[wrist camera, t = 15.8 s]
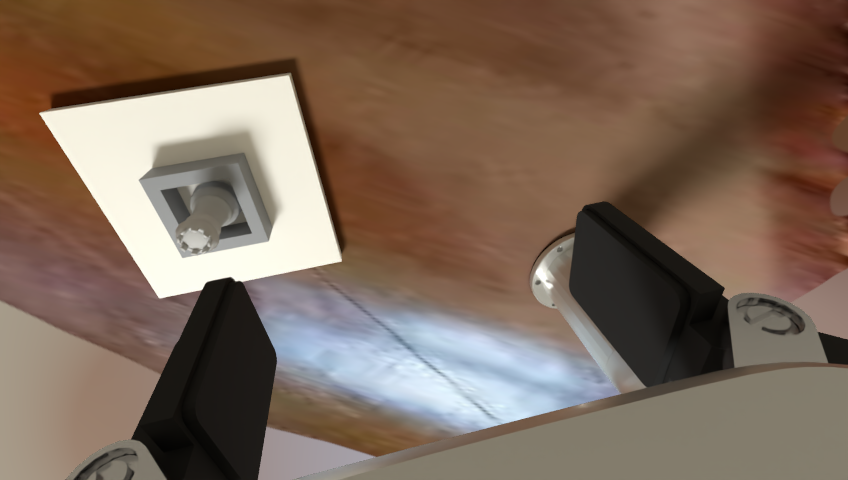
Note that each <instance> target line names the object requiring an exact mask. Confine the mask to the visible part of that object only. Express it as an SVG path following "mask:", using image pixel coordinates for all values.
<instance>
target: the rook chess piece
mask: <svg viewBox="0 0 848 480" xmlns="http://www.w3.org/2000/svg"><path fill="white" fill-rule="evenodd" d="M190 208H191V210H192V215H191V216H189V217H187V219H186V220H185V221H183V222H182V223H180V224H179V225H178V227H177V228H176V230H175V232H176V239H177V243H179V244H180V245H181V247H180V249H181V250H182V251H183V252H185V251H186V250H189V251H191V255H195V256H198V254H199V253H203V254H206V253H207V252H210V251H212V250H213V249H215V248H216V247H217V245H218V244H219V235H220V233H221V227H223V226H227V225H229V224H230V223H232V222H234V221H235V220H236V219H237V217H238V216H239V214H240V213H241V211H242V208H241V206H240V204H239V201H238V199H237V196H236V194H235V192H234V189H233V187H232V186H230V185H228V184H226V183H224V182H219V181H210V182H205V183H202V184H200V185H199V186H197V187H196V189H195V191H194V192H193V195H192V196H191V198H190Z"/></svg>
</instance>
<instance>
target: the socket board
mask: <svg viewBox="0 0 848 480" xmlns="http://www.w3.org/2000/svg"><path fill="white" fill-rule="evenodd" d="M39 114H40V115H41V117H42V118H43V120H44V121H45V123H46V124H47V126H48V127H49V129H50V130H51V132H52V134H53V135H54V137H55V138H56V140H57V141H58V143H59V144H60V146H61V147H62V149H63V151H64V152H65V154H66V155H67V157H68V158H69V160H70V161H71V163H72V164H73V166H74V168H75V169H76V171H77V172H78V174H79V175H80V177H81V178H82V180H83V181H84V183H85V184H86V186H87V188H88V189H89V191H90V192H91V194H92V195H93V197H94V198H95V200H96V201H97V203H98V205H99V206H100V208H101V209H102V211H103V212H104V214H105V215H106V217H107V218H108V220H109V221H110V223H111V225H112V226H113V228H114V229H115V231H116V232H117V234H118V235H119V237H120V238H121V240H122V242H123V243H124V245H125V246H126V248H127V249H128V251H129V252H130V254H131V255H132V257H133V258H134V260H135V262H136V263H137V265H138V266H139V268H140V269H141V271H142V272H143V274H144V275H145V277H146V279H147V280H148V282H149V283H150V285H151V286H152V288H153V289H154V291H155V292H156V294H157V295H158V297H159V298H164V297H169V296H173V295H178V294H183V293H188V292H193V291H198V290H202V289H203V287H204V285H205V284H206V282H208V281H212V280H217V279H222V278H227V277H232V278H233V279H234V280H235V281H241V282H242V281H247V280H252V279H257V278H262V277H267V276H272V275H277V274H282V273H286V272H291V271H296V270H301V269H306V268H311V267H316V266H321V265H326V264H331V263H336V262H341V261H342V254H341V250H340V246H339V243H338V239H337V236H336V232H335V229H334V225H333V221H332V218H331V214H330V211H329V207H328V204H327V200H326V197H325V193H324V189H323V186H322V182H321V179H320V175H319V172H318V168H317V164H316V161H315V157H314V154H313V150H312V147H311V143H310V140H309V136H308V132H307V129H306V125H305V122H304V118H303V115H302V111H301V107H300V104H299V100H298V97H297V93H296V90H295V86H294V83H293V79H292V75H291V73H285V74H278V75H271V76H265V77H258V78H251V79H245V80H238V81H232V82H225V83H218V84H212V85H205V86H198V87H192V88H185V89H179V90H172V91H165V92H159V93H152V94H145V95H139V96H132V97H126V98H119V99H112V100H106V101H99V102H92V103H86V104H79V105H73V106H66V107H59V108H53V109H49V110H46V111H43V112H41V113H39ZM210 181H219V182H224V183H226V184H228V185H230V186H232V187H233V189H234V192H235V194H236V196H237V199H238V201H239V204H240V206H241V208H242V211H241V213H240V214H239V216H238V217H237V219H236V220H235V221H234V222H232V223H230V224H229V225H227V226H223V227H221V233H220V235H219V244H218V245H217V247H216V248H215V249H213V250H212V251H210V252H207V253H206V254H203V253H199V254H198V256H195V255H191V251H189V250H186V251H185V252H183V251H182V250H181V249H180V247H181V245H180V244H179V243H177V239H176V232H175V230H176V228H177V227H178V225H179V224H180V223H182V222H183V221H185V220H186V219H187V217H189V216H191V215H192V210H191V208H190V198H191V196H192V195H193V192H194V191H195V189H196V187H197V186H199V185H200V184H202V183H205V182H210Z"/></svg>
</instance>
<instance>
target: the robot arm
mask: <svg viewBox="0 0 848 480" xmlns="http://www.w3.org/2000/svg"><path fill="white" fill-rule="evenodd" d="M530 287H531V290H532V292H533V294H534V295H535V297H536V298H537V300H538V301H539V302H540V303H542V304H543V305H545V306H547V307H550V308H557V309H558V310H559V311H560V312H561V314H562V315H563V317H564V318H565V319H566V321H567V322H568V324H569V325H570V326H571V328H572V329H573V330H574V332H575V333H576V335H577V336H578V337H579V339H580V340H581V341H582V343H583V344H584V346H585V347H586V348H587V350H588V351H589V353H590V354H591V355H592V357H593V358H594V359H595V361H596V362H597V364H598V365H599V366H600V368H601V369H602V370H603V372H604V373H605V375H606V376H607V377H608V379H609V380H610V381H611V383H612V384H613V386H614V387H615V388H616V389H617V390H618V391H619V393H621V394H620V395H616V396H612V397H608V398H604V399H600V400H596V401H592V402H588V403H584V404H580V405H576V406H572V407H568V408H564V409H560V410H556V411H553V412H549V413H545V414H541V415H537V416H533V417H529V418H525V419H521V420H518V421H514V422H510V423H506V424H502V425H498V426H494V427H490V428H487V429H483V430H479V431H475V432H471V433H467V434H463V435H460V436H456V437H452V438H448V439H444V440H440V441H436V442H432V443H429V444H425V445H421V446H417V447H413V448H410V449H406V450H402V451H398V452H394V453H391V454H387V455H383V456H379V457H376V458H372V459H368V460H364V461H360V462H357V463H353V464H349V465H345V466H341V467H338V468H334V469H330V470H327V471H323V472H319V473H315V474H311V475H308V476H304V477H301V478H297V479H294V480H848V340H847V339H843V338H840V337H836V336H832V335H828V334H824V333H820V332H817V329H816V326H815V324H814V323H813V321H812V319H811V318H810V317H809V316H808V315H807V314H806V313H805V312H804V311H802V310H801V309H800V308H798V307H796V306H795V305H793V304H791V303H789V302H787V301H784V300H782V299H780V298H777V297H773V296H769V295H766V294H759V293H741V294H738V295H735V296H733V297H732V298H731V299H730V300H728V299H726V298H725V297H724V296H723V295H722V294H723V291H724V289H725V288H724V287H723V286H721V285H720V284H719V283H717V282H716V281H714V280H713V279H712V278H710V277H709V276H708V275H706V274H705V273H704V272H702V271H701V270H699V269H698V268H697V267H695V266H694V265H693V264H691V263H690V262H689V261H687V260H686V259H685V258H683V257H682V256H680V255H679V254H678V253H676V252H675V251H674V250H672V249H671V248H670V247H668V246H667V245H665V244H664V243H663V242H661V241H660V240H659V239H657V238H656V237H655V236H653V235H652V234H651V233H649V232H648V231H646V230H645V229H644V228H642V227H641V226H640V225H638V224H637V223H636V222H634V221H633V220H631V219H630V218H629V217H627V216H626V215H625V214H623V213H622V212H621V211H619V210H618V209H616V208H615V207H614V206H612V205H611V204H610V203H608V202H599V203H594V204H589V205H586V206H584V207H583V209H582V211H580V212H579V213H578V215H577V221H576V229H575V233H572V234H570V235H567V236H564V237H563V238H561V239H559V240H557V241H556V242H554V243H553V244H551V245H550V246H549V247H548V248H547V249H546V250H545V251H544V252H543V253H542V254H541V255H540V256H539V258H538V259H537V260H536V262H535V264H534V266H533V268H532V272H531V275H530ZM276 364H277V357H276V352H275V349H274V347H273V345H272V343H271V341H270V339H269V337H268V335H267V332H266V330H265V328H264V326H263V324H262V322H261V320H260V318H259V316H258V314H257V311H256V309H255V307H254V305H253V303H252V301H251V299H250V297H249V295H248V293H247V291H246V288H245V286H244V284H243V283H242V282H241V281H235V280H234V279H233V278H232V277H227V278H222V279H217V280H212V281H208V282H206V284H205V285H204V287H203V289H202V292H201V294H200V296H199V298H198V300H197V302H196V304H195V307H194V309H193V311H192V313H191V315H190V317H189V320H188V322H187V324H186V326H185V328H184V330H183V332H182V335H181V337H180V339H179V341H178V342H177V344H176V345H175V347H174V349H173V351H172V353H171V355H170V357H169V359H168V362H167V364H166V366H165V368H164V370H163V372H162V374H161V377H160V379H159V381H158V383H157V385H156V387H155V390H154V391H153V394H152V396H151V398H150V400H149V402H148V404H147V407H146V409H145V411H144V413H143V415H142V417H141V419H140V421H139V424H138V426H137V428H136V430H135V432H134V435H133V436H132V439H131V440H124V441H118V442H115V443H113V444H111V445H108V446H106V447H104V448H102V449H100V450H99V451H97V452H96V453H94V454H92V455H91V456H89V457H88V458H87V459H86V460H85V461H83V462H82V463H81V464H80V465H79V466H77V467H76V468H75V470H74V471H73V472H72V473H71V474H70V475H69V476H68V477H67V478H66V479H65V480H258V474H259V467H260V462H261V456H262V450H263V443H264V437H265V431H266V425H267V419H268V413H269V407H270V401H271V395H272V389H273V382H274V376H275V370H276Z"/></svg>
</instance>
